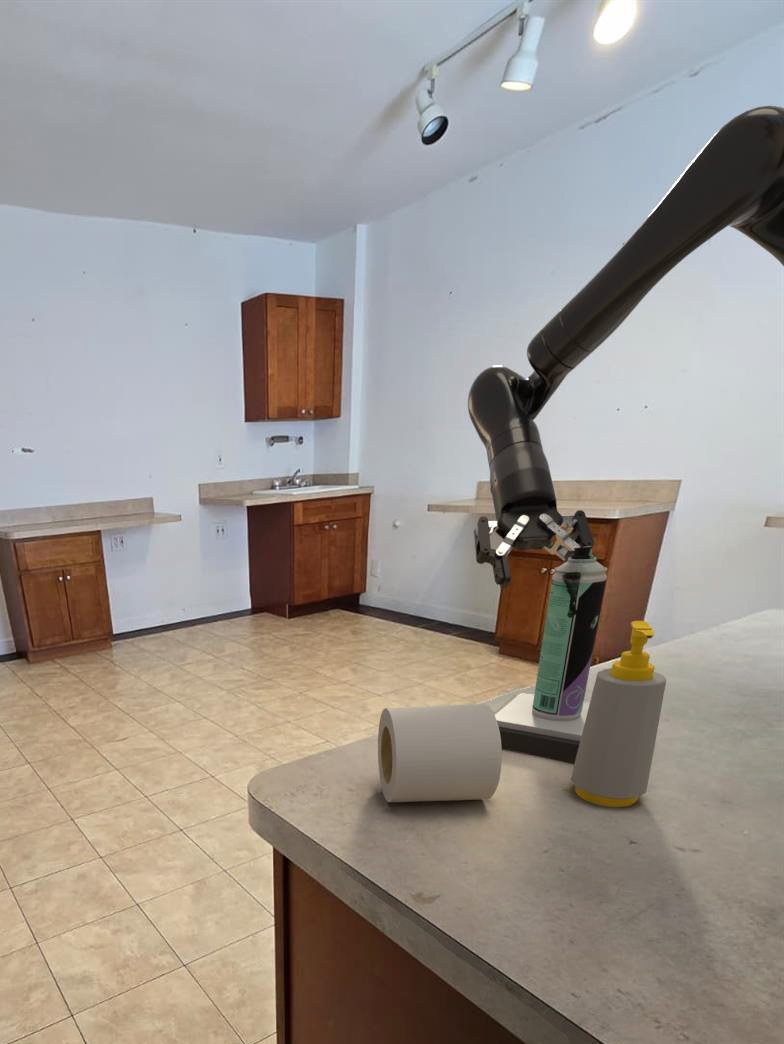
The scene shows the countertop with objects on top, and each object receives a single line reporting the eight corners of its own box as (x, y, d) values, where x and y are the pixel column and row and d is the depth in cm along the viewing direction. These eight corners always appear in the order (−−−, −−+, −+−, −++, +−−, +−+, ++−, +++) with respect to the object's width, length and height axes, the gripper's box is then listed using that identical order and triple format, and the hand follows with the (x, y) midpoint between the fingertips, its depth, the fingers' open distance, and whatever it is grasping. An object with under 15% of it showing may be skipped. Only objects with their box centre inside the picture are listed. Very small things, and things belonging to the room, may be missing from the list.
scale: (645, 733, 80) (651, 709, 79) (620, 772, 71) (626, 746, 70) (512, 711, 90) (515, 689, 89) (475, 743, 81) (478, 720, 80)
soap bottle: (571, 806, 65) (605, 632, 58) (565, 777, 71) (594, 616, 63) (651, 814, 63) (697, 633, 55) (637, 784, 68) (677, 616, 61)
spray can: (584, 722, 77) (617, 548, 68) (533, 719, 78) (559, 550, 70) (577, 707, 81) (607, 542, 73) (530, 705, 83) (554, 544, 75)
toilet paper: (464, 774, 73) (473, 691, 69) (494, 816, 64) (507, 724, 60) (376, 777, 74) (380, 695, 70) (393, 819, 65) (398, 728, 61)
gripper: (475, 469, 86) (492, 568, 81) (586, 461, 85) (611, 561, 79) (461, 509, 93) (475, 602, 88) (563, 502, 92) (584, 597, 86)
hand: (540, 583), depth 84 cm, fingers open, 8 cm apart
